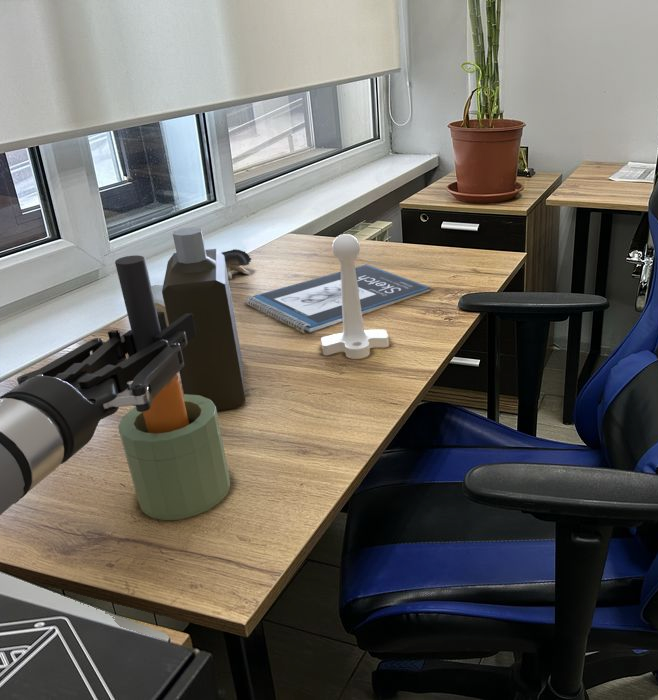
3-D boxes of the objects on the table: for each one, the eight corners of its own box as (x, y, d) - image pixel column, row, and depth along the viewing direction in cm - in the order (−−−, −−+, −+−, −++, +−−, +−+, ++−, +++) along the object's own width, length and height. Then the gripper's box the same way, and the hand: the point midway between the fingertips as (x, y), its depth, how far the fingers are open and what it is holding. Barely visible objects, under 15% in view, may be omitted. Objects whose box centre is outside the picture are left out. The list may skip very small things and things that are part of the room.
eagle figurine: (214, 282, 148) (255, 268, 151) (200, 252, 148) (242, 237, 151) (215, 291, 155) (255, 276, 158) (202, 261, 155) (241, 248, 158)
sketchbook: (431, 293, 144) (430, 284, 144) (305, 337, 125) (304, 327, 125) (366, 269, 158) (365, 260, 157) (244, 305, 139) (243, 295, 138)
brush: (143, 451, 80) (96, 265, 70) (165, 430, 84) (123, 252, 74) (179, 454, 79) (136, 267, 69) (199, 433, 83) (161, 253, 73)
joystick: (385, 338, 124) (377, 227, 116) (393, 356, 118) (385, 240, 109) (321, 346, 122) (308, 234, 113) (325, 365, 115) (312, 247, 106)
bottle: (243, 363, 116) (217, 214, 105) (246, 410, 102) (217, 244, 92) (191, 371, 114) (160, 219, 103) (188, 420, 100) (151, 251, 89)
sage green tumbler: (122, 518, 81) (98, 436, 76) (170, 466, 90) (152, 391, 85) (204, 527, 79) (185, 444, 75) (245, 474, 88) (231, 397, 84)
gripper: (-39, 462, 63) (121, 348, 84) (122, 478, 60) (246, 357, 81) (-68, 388, 60) (106, 289, 80) (101, 402, 57) (236, 296, 78)
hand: (176, 323), depth 81 cm, fingers closed on brush, 3 cm apart
